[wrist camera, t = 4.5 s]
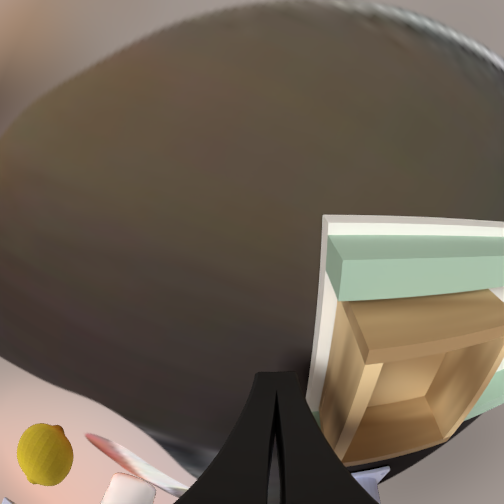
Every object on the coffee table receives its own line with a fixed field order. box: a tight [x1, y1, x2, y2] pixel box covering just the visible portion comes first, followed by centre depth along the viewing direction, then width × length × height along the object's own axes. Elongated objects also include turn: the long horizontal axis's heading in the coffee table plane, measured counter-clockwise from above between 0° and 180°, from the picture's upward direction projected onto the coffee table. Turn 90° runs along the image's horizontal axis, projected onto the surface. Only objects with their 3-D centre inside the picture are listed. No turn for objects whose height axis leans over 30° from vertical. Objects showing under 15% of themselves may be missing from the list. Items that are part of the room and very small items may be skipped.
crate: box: [319, 289, 504, 467], centre depth 8 cm, size 7×6×4 cm
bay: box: [306, 215, 504, 429], centre depth 9 cm, size 11×16×3 cm
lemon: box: [17, 423, 73, 486], centre depth 14 cm, size 6×6×8 cm
